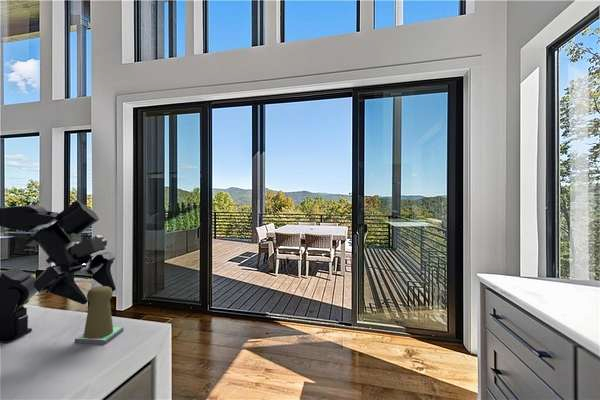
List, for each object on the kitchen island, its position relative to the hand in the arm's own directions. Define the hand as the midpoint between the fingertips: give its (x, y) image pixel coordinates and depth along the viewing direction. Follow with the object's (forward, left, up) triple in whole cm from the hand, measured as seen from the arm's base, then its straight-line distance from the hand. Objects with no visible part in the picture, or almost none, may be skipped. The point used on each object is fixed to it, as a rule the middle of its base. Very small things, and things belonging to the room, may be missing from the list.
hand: (101, 296), depth 75 cm
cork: (0, 0, -9) cm, 9 cm away
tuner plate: (0, 0, -10) cm, 10 cm away
